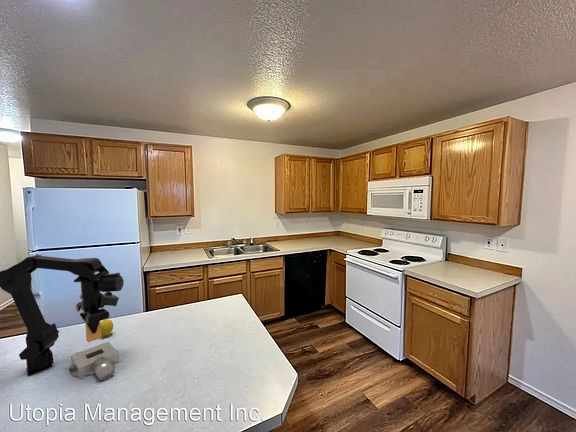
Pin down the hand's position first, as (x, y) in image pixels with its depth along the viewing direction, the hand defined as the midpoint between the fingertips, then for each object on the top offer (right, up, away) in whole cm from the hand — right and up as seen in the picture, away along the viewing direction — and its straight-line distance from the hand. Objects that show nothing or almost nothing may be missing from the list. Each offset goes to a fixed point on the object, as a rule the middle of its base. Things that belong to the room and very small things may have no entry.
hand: (93, 332), depth 96 cm
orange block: (0, -3, 0) cm, 3 cm away
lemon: (-10, -11, +20) cm, 25 cm away
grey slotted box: (+3, -13, -1) cm, 13 cm away
